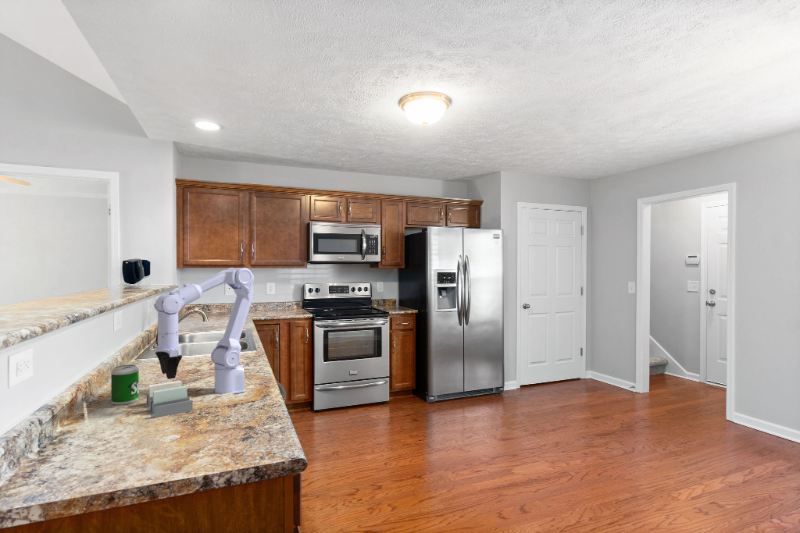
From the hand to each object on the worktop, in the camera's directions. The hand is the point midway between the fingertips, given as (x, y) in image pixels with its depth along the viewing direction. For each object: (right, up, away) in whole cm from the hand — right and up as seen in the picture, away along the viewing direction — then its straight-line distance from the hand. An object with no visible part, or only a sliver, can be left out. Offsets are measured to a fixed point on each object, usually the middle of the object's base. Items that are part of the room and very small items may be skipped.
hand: (168, 375), depth 134 cm
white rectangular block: (-2, -9, +2) cm, 9 cm away
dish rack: (+1, -10, -2) cm, 10 cm away
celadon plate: (+3, -9, -4) cm, 10 cm away
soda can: (-16, -10, +3) cm, 19 cm away
